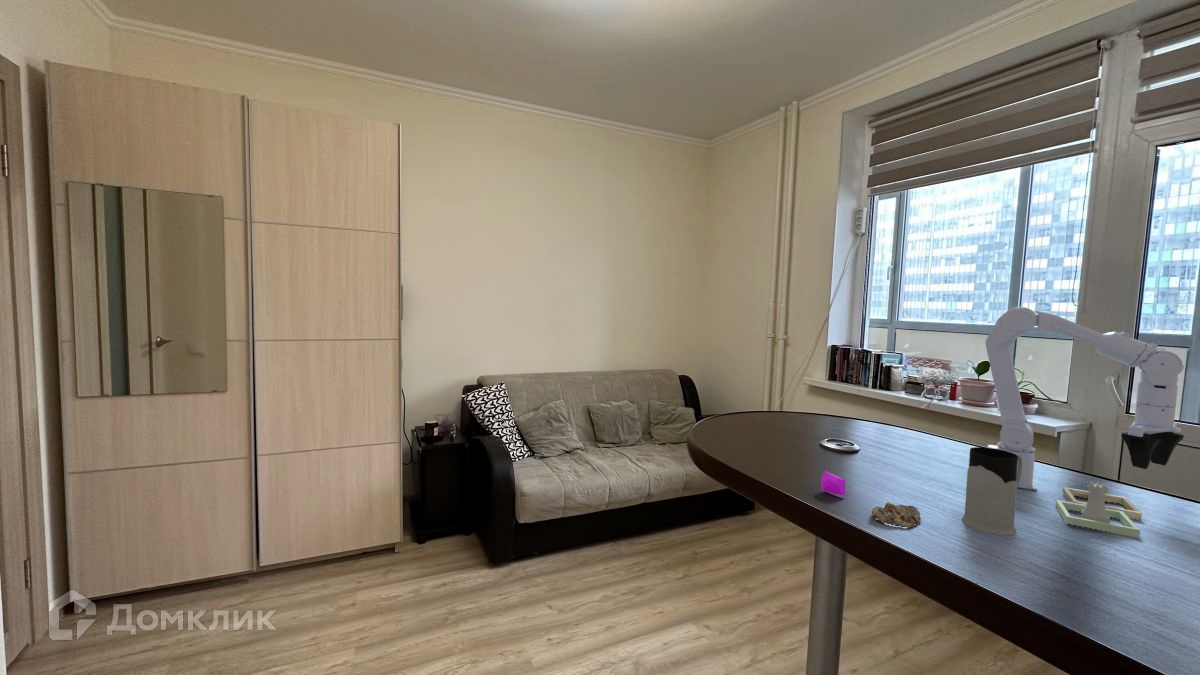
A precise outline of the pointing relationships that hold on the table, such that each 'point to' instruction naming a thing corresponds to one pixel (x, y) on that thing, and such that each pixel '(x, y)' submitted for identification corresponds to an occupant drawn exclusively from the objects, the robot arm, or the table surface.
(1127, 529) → the sage square frame
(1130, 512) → the beige square frame
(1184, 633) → the table surface
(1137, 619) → the table surface
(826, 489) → the crystal
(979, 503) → the beige black oval cylinder
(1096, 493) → the rook chess piece
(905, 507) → the mineral rock
